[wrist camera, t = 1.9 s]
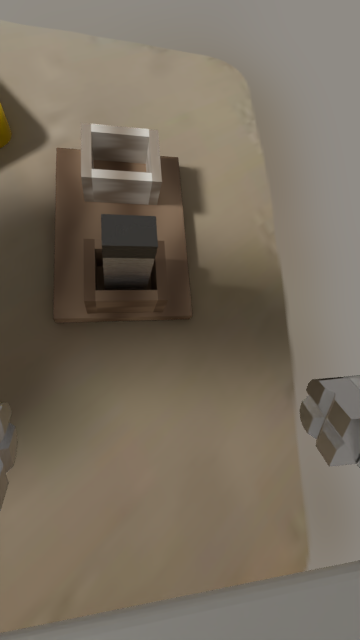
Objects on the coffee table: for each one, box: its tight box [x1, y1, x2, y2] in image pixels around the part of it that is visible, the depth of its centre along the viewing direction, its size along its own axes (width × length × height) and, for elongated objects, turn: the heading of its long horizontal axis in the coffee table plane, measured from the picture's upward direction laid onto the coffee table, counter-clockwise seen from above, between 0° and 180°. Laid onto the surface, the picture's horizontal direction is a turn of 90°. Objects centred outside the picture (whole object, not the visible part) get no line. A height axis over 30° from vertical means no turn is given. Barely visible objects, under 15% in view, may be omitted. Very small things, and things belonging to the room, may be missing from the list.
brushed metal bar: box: [101, 214, 158, 290], centre depth 29 cm, size 4×2×11 cm, turn 95°
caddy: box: [53, 123, 192, 323], centre depth 34 cm, size 14×20×6 cm
